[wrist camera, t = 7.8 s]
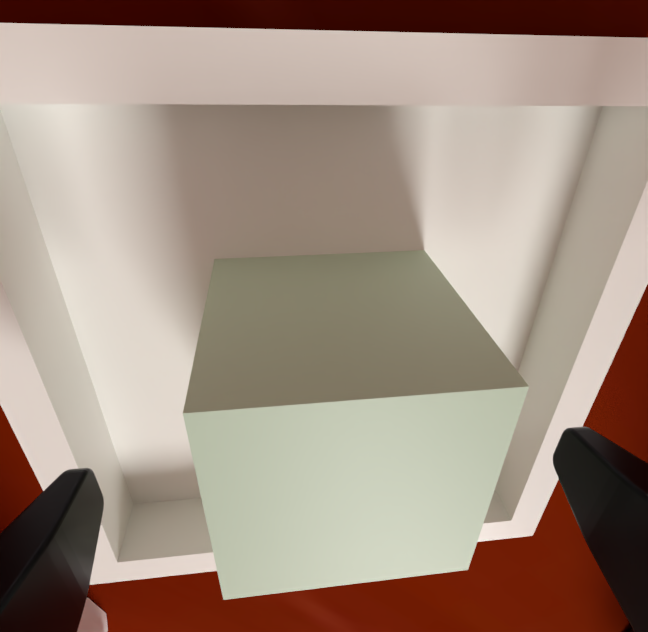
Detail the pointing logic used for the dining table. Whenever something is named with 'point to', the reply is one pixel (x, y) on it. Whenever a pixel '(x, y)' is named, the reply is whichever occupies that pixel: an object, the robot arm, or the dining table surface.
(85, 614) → the foam cup
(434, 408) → the cube
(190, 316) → the tray
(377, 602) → the dining table surface
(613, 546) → the robot arm
